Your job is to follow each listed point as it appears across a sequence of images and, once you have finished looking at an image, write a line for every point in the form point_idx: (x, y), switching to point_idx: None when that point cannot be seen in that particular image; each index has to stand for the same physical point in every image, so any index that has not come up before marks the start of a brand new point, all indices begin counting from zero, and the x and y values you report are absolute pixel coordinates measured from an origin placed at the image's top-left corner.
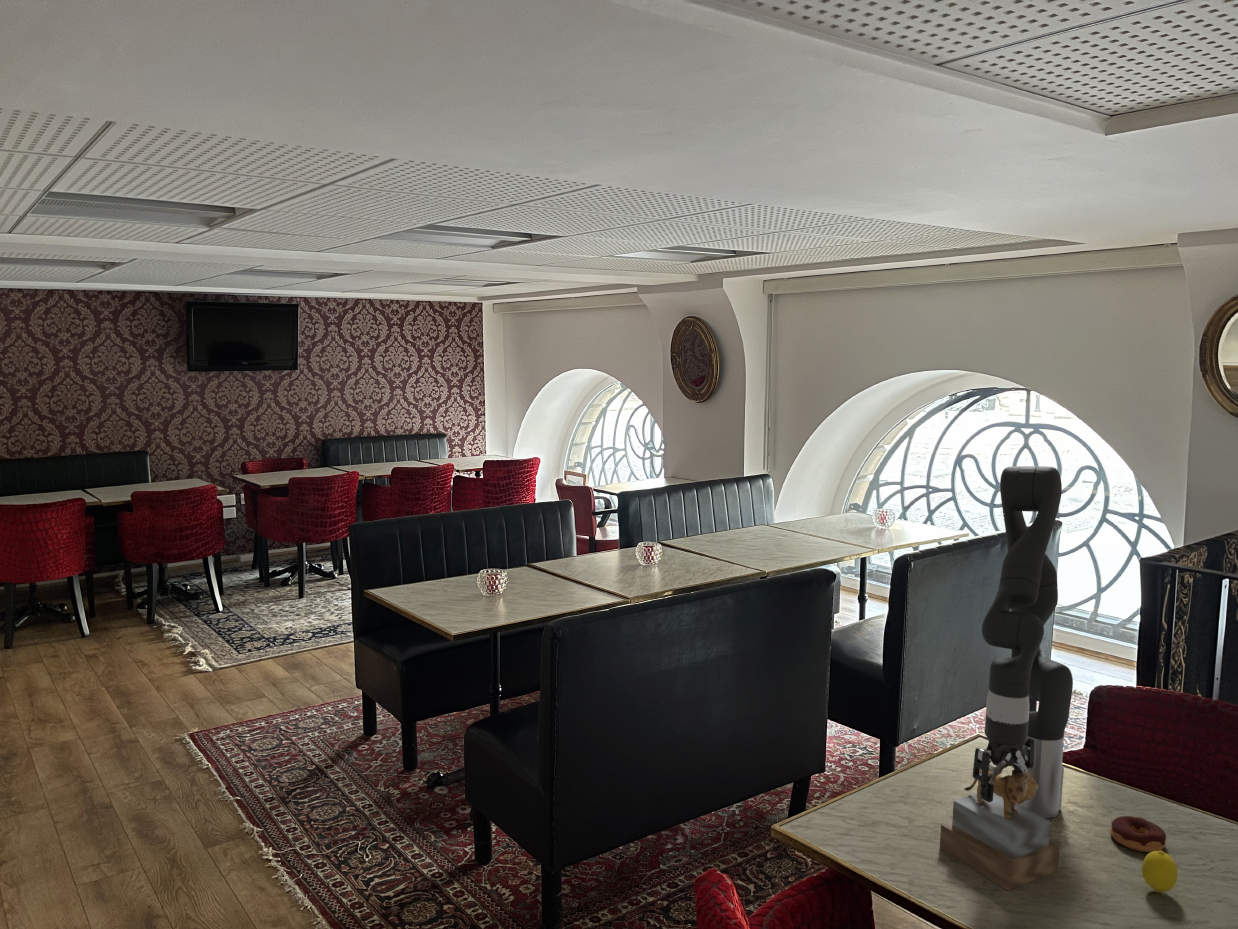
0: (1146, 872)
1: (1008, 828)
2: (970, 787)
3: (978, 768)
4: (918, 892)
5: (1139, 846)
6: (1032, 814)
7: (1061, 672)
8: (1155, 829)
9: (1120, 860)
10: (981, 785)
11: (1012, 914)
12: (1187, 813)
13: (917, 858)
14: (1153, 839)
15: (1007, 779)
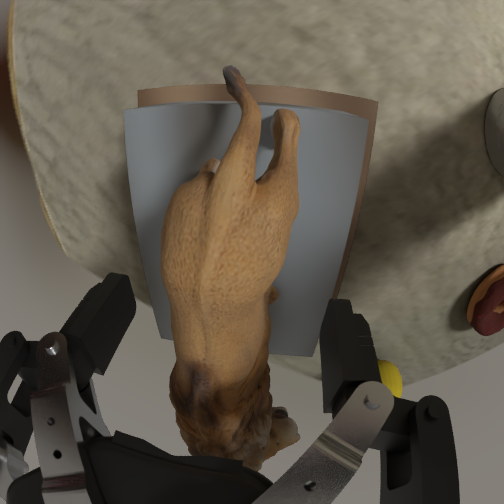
0: None
1: (164, 322)
2: (234, 96)
3: (4, 384)
4: (51, 191)
5: (469, 317)
6: (309, 322)
7: None
8: (502, 325)
9: (433, 307)
10: (68, 324)
11: (141, 294)
12: None
13: (100, 104)
14: (479, 333)
15: (178, 413)
